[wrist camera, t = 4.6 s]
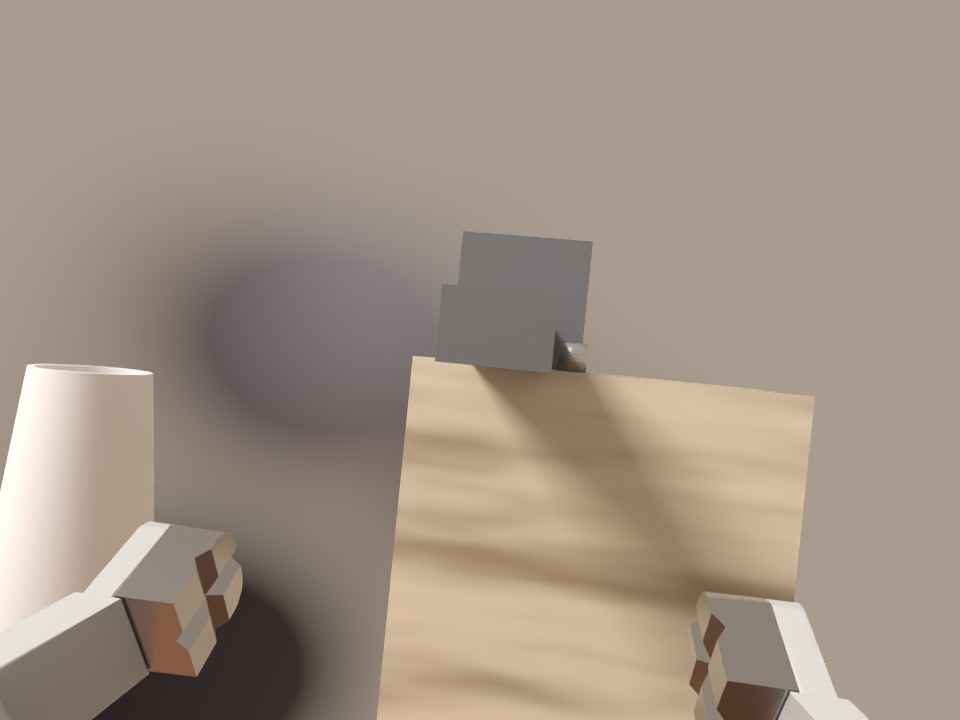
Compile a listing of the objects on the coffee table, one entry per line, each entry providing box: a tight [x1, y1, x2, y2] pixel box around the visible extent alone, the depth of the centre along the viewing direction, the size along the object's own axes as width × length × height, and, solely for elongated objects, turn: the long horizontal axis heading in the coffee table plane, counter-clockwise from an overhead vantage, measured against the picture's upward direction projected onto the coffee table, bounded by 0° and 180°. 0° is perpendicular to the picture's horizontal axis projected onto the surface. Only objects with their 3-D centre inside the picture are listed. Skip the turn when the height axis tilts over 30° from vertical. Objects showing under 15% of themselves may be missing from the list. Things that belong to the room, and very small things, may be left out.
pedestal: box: [377, 342, 814, 720], centre depth 28 cm, size 8×15×27 cm, turn 84°
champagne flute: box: [0, 364, 154, 632], centre depth 28 cm, size 7×7×24 cm
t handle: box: [435, 232, 593, 373], centre depth 24 cm, size 16×6×6 cm, turn 174°
